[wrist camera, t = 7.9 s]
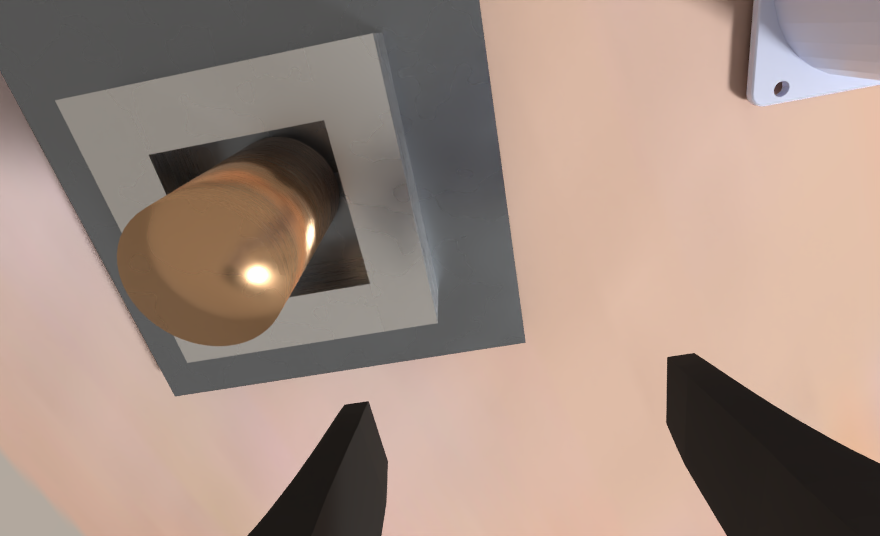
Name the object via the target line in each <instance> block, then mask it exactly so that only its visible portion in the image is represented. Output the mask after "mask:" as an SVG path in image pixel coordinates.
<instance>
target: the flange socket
mask: <svg viewBox="0 0 880 536" xmlns="http://www.w3.org/2000/svg"><path fill="white" fill-rule="evenodd" d="M0 71H1V73H2V75H3V77H4V79H5V81H6V82H7V84H8V86H9V88H10V90H11V92H12V94H13V95H14V97H15V99H16V101H17V103H18V105H19V107H20V109H21V110H22V112H23V114H24V116H25V118H26V120H27V122H28V123H29V125H30V127H31V129H32V131H33V133H34V135H35V136H36V138H37V140H38V142H39V144H40V146H41V148H42V149H43V151H44V153H45V155H46V157H47V159H48V161H49V163H50V164H51V166H52V168H53V170H54V172H55V174H56V176H57V177H58V179H59V181H60V183H61V185H62V187H63V189H64V190H65V192H66V194H67V196H68V198H69V200H70V202H71V203H72V205H73V207H74V209H75V211H76V213H77V215H78V217H79V218H80V220H81V222H82V224H83V226H84V228H85V230H86V231H87V233H88V235H89V237H90V239H91V241H92V243H93V244H94V246H95V248H96V250H97V252H98V254H99V256H100V257H101V259H102V261H103V263H104V265H105V267H106V269H107V271H108V272H109V274H110V276H111V278H112V280H113V282H114V284H115V285H116V287H117V289H118V291H119V293H120V295H121V297H122V298H123V300H124V302H125V304H126V306H127V308H128V310H129V311H130V313H131V315H132V317H133V319H134V321H135V323H136V325H137V326H138V328H139V330H140V332H141V334H142V336H143V338H144V339H145V341H146V343H147V345H148V347H149V349H150V351H151V352H152V354H153V356H154V358H155V360H156V362H157V364H158V365H159V367H160V369H161V371H162V373H163V375H164V377H165V379H166V380H167V382H168V384H169V386H170V388H171V390H172V392H173V393H174V395H175V396H181V395H187V394H194V393H200V392H207V391H213V390H220V389H226V388H233V387H239V386H246V385H252V384H259V383H265V382H272V381H278V380H285V379H291V378H298V377H304V376H311V375H317V374H324V373H330V372H337V371H343V370H350V369H356V368H363V367H369V366H376V365H382V364H389V363H395V362H402V361H408V360H415V359H422V358H428V357H435V356H441V355H448V354H454V353H461V352H467V351H474V350H480V349H487V348H493V347H500V346H506V345H513V344H519V343H526V342H525V335H524V328H523V320H522V313H521V306H520V298H519V291H518V283H517V276H516V269H515V261H514V254H513V247H512V239H511V232H510V225H509V217H508V210H507V202H506V195H505V188H504V180H503V173H502V166H501V158H500V151H499V143H498V136H497V129H496V121H495V114H494V107H493V99H492V92H491V84H490V77H489V70H488V62H487V55H486V48H485V40H484V33H483V25H482V18H481V11H480V3H479V0H0ZM269 137H286V138H291V139H295V140H298V141H300V142H303V143H305V144H307V145H309V146H310V147H312V148H313V149H315V150H316V151H317V152H318V153H319V154H320V155H321V156H322V157H323V158H324V159H325V160H326V161H327V162H328V164H329V165H330V167H331V168H332V170H333V172H334V174H335V177H336V179H337V183H338V187H339V206H338V210H337V213H336V215H335V217H334V219H333V221H332V223H331V225H330V226H329V228H328V230H327V232H326V233H325V235H324V237H323V239H322V240H321V242H320V244H319V246H318V247H317V249H316V251H315V253H314V254H313V256H312V258H311V260H310V261H309V263H308V265H307V267H306V268H305V270H304V272H303V274H302V275H301V277H300V279H299V281H298V282H297V284H296V286H295V288H294V289H293V291H292V293H291V295H290V296H289V298H288V300H287V302H286V303H285V305H284V307H283V309H282V310H281V312H280V314H279V316H278V317H277V319H276V320H275V321H274V323H273V324H272V325H271V326H270V327H269V328H268V329H267V330H266V331H265V332H263V333H262V334H261V335H259V336H257V337H256V338H254V339H252V340H249V341H247V342H244V343H240V344H236V345H230V346H207V345H201V344H196V343H192V342H189V341H185V340H183V339H180V338H178V337H175V336H173V335H171V334H170V333H168V332H166V331H164V330H163V329H161V328H160V327H158V326H156V325H155V324H154V323H153V322H151V321H150V320H149V319H148V318H147V317H146V316H145V315H144V314H143V313H142V312H141V311H140V310H139V309H138V308H137V307H136V306H135V304H134V303H133V302H132V300H131V299H130V297H129V296H128V294H127V292H126V290H125V288H124V286H123V284H122V281H121V278H120V275H119V271H118V266H117V249H118V243H119V240H120V236H121V234H122V232H123V230H124V228H125V227H126V225H127V224H128V223H129V221H130V220H131V219H132V218H133V217H134V216H135V215H136V214H137V213H139V212H140V211H142V210H143V209H144V208H146V207H148V206H149V205H151V204H153V203H154V202H156V201H158V200H159V199H161V198H163V197H164V196H166V195H168V194H169V193H171V192H173V191H174V190H176V189H177V188H179V187H181V186H182V185H184V184H186V183H187V182H189V181H191V180H192V179H194V178H196V177H197V176H199V175H201V174H202V173H204V172H206V171H207V170H209V169H211V168H212V167H214V166H215V165H217V164H219V163H220V162H222V161H224V160H225V159H227V158H229V157H230V156H232V155H234V154H235V153H237V152H239V151H240V150H242V149H244V148H245V147H247V146H249V145H250V144H252V143H254V142H256V141H258V140H261V139H264V138H269Z"/></svg>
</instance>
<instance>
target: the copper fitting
mask: <svg viewBox="0 0 880 536" xmlns="http://www.w3.org/2000/svg"><path fill="white" fill-rule="evenodd" d="M338 206H339V187H338V183H337V179H336V177H335V174H334V172H333V170H332V168H331V167H330V165H329V164H328V162H327V161H326V160H325V159H324V158H323V157H322V156H321V155H320V154H319V153H318V152H317V151H316V150H315V149H313V148H312V147H310V146H309V145H307V144H305V143H303V142H300V141H298V140H295V139H291V138H286V137H269V138H264V139H261V140H258V141H256V142H254V143H252V144H250V145H249V146H247V147H245V148H244V149H242V150H240V151H239V152H237V153H235V154H234V155H232V156H230V157H229V158H227V159H225V160H224V161H222V162H220V163H219V164H217V165H215V166H214V167H212V168H211V169H209V170H207V171H206V172H204V173H202V174H201V175H199V176H197V177H196V178H194V179H192V180H191V181H189V182H187V183H186V184H184V185H182V186H181V187H179V188H177V189H176V190H174V191H173V192H171V193H169V194H168V195H166V196H164V197H163V198H161V199H159V200H158V201H156V202H154V203H153V204H151V205H149V206H148V207H146V208H144V209H143V210H142V211H140V212H139V213H137V214H136V215H135V216H134V217H133V218H132V219H131V220H130V221H129V223H128V224H127V225H126V227H125V228H124V230H123V232H122V234H121V236H120V240H119V243H118V249H117V266H118V271H119V275H120V278H121V281H122V284H123V286H124V288H125V290H126V292H127V294H128V296H129V297H130V299H131V300H132V302H133V303H134V304H135V306H136V307H137V308H138V309H139V310H140V311H141V312H142V313H143V314H144V315H145V316H146V317H147V318H148V319H149V320H150V321H151V322H153V323H154V324H155V325H156V326H158V327H160V328H161V329H163V330H164V331H166V332H168V333H170V334H171V335H173V336H175V337H178V338H180V339H183V340H185V341H189V342H192V343H196V344H201V345H207V346H230V345H236V344H240V343H244V342H247V341H249V340H252V339H254V338H256V337H257V336H259V335H261V334H262V333H263V332H265V331H266V330H267V329H268V328H269V327H270V326H271V325H272V324H273V323H274V321H275V320H276V319H277V317H278V316H279V314H280V312H281V310H282V309H283V307H284V305H285V303H286V302H287V300H288V298H289V296H290V295H291V293H292V291H293V289H294V288H295V286H296V284H297V282H298V281H299V279H300V277H301V275H302V274H303V272H304V270H305V268H306V267H307V265H308V263H309V261H310V260H311V258H312V256H313V254H314V253H315V251H316V249H317V247H318V246H319V244H320V242H321V240H322V239H323V237H324V235H325V233H326V232H327V230H328V228H329V226H330V225H331V223H332V221H333V219H334V217H335V215H336V213H337V210H338Z"/></svg>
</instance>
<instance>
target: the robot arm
mask: <svg viewBox="0 0 880 536" xmlns="http://www.w3.org/2000/svg"><path fill="white" fill-rule="evenodd" d="M779 82H782V89H781V91H780V92H779V93H778V94H776V95H775V94H774V88H775V86H776V85H777V84H778V83H779ZM876 85H880V0H754V2H753V15H752V28H751V41H750V54H749V67H748V80H747V92H746V94H747V99H748V101H749V102H750V103H751V104H753V105H757V106H768V105H774V104H779V103H784V102H790V101H795V100H801V99H806V98H811V97H817V96H822V95H827V94H833V93H838V92H844V91H849V90H854V89H860V88H865V87H870V86H876ZM666 423H667V426H668V428H669V430H670V433H671V435H672V437H673V440H674V442H675V444H676V447H677V449H678V451H679V453H680V455H681V458H682V460H683V462H684V464H685V466H686V467H687V469H688V471H689V473H690V474H691V476H692V478H693V479H694V481H695V483H696V485H697V486H698V488H699V490H700V491H701V493H702V495H703V496H704V498H705V500H706V501H707V503H708V505H709V506H710V508H711V510H712V511H713V513H714V515H715V516H716V518H717V520H718V521H719V523H720V525H721V526H722V528H723V530H724V531H725V533H726V535H727V536H880V463H878V462H876V461H874V460H872V459H869V458H867V457H865V456H863V455H861V454H859V453H857V452H855V451H853V450H851V449H849V448H848V447H846V446H844V445H842V444H840V443H838V442H836V441H834V440H832V439H831V438H829V437H827V436H825V435H824V434H822V433H820V432H818V431H817V430H815V429H813V428H811V427H809V426H808V425H806V424H804V423H802V422H801V421H799V420H797V419H796V418H794V417H792V416H791V415H789V414H787V413H786V412H784V411H782V410H781V409H779V408H777V407H776V406H774V405H773V404H771V403H769V402H768V401H766V400H765V399H763V398H761V397H760V396H758V395H757V394H755V393H754V392H752V391H751V390H749V389H748V388H746V387H744V386H743V385H741V384H740V383H738V382H737V381H735V380H734V379H732V378H731V377H729V376H728V375H726V374H725V373H723V372H722V371H720V370H719V369H717V368H716V367H714V366H713V365H711V364H710V363H708V362H707V361H705V360H704V359H702V358H701V357H699V356H698V355H696V354H695V353H692V354H685V355H679V356H672V357H667V415H666ZM387 471H388V460H387V457H386V454H385V451H384V448H383V445H382V442H381V439H380V436H379V432H378V429H377V426H376V423H375V420H374V417H373V414H372V411H371V408H370V404H369V401H367V402H360V403H354V404H347V405H344V406H343V408H342V409H341V410H340V412H339V413H338V415H337V416H336V418H335V419H334V421H333V422H332V424H331V425H330V427H329V428H328V430H327V431H326V433H325V434H324V436H323V437H322V439H321V440H320V442H319V443H318V445H317V446H316V448H315V449H314V451H313V452H312V454H311V455H310V456H309V458H308V459H307V461H306V462H305V464H304V465H303V466H302V468H301V469H300V471H299V472H298V473H297V475H296V476H295V478H294V479H293V480H292V482H291V483H290V484H289V486H288V487H287V488H286V489H285V491H284V492H283V493H282V495H281V496H280V497H279V498H278V500H277V501H276V502H275V504H274V505H273V506H272V508H271V509H270V510H269V511H268V512H267V514H266V515H265V516H264V517H263V518H262V520H261V521H260V522H259V523H258V524H257V526H256V527H255V528H254V529H253V530H252V531H251V532H250V533H249V535H248V536H381V535H382V528H383V521H384V515H385V508H386V498H387Z"/></svg>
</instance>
